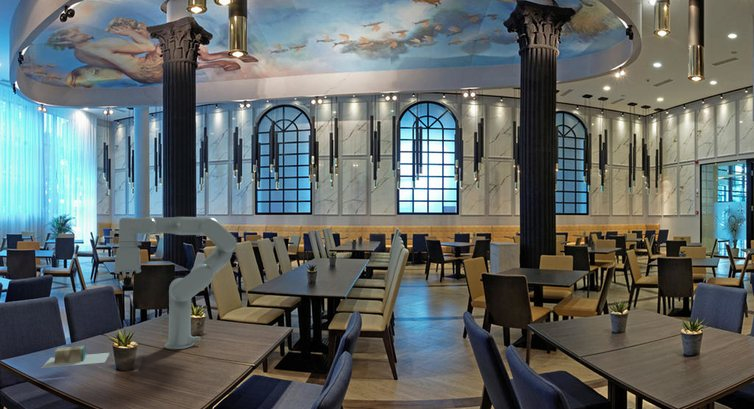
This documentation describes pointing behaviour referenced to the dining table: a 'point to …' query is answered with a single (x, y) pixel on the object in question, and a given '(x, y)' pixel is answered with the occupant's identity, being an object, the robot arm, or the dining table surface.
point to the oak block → (70, 354)
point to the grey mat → (88, 360)
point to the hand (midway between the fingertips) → (127, 286)
